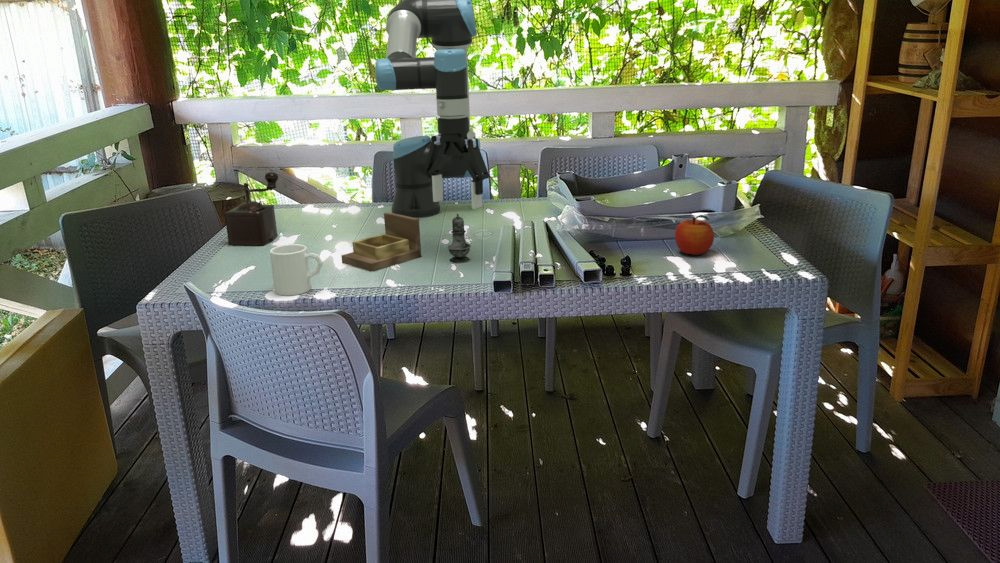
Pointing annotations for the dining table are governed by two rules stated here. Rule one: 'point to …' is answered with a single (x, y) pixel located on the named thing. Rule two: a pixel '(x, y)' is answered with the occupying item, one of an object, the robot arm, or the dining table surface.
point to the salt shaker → (458, 242)
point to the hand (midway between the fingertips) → (457, 204)
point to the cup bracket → (387, 245)
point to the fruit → (694, 236)
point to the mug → (292, 269)
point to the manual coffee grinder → (252, 219)
